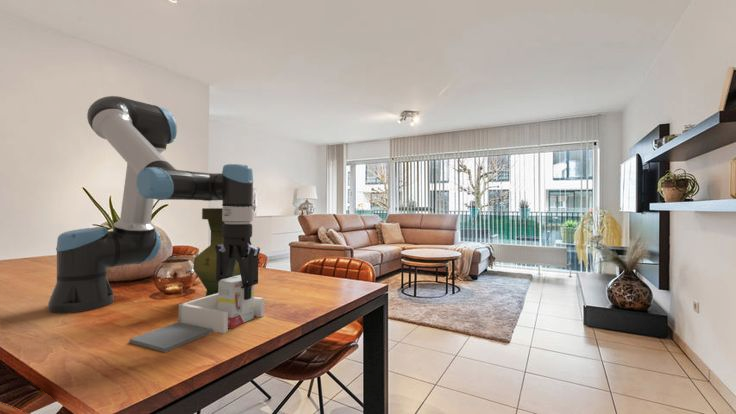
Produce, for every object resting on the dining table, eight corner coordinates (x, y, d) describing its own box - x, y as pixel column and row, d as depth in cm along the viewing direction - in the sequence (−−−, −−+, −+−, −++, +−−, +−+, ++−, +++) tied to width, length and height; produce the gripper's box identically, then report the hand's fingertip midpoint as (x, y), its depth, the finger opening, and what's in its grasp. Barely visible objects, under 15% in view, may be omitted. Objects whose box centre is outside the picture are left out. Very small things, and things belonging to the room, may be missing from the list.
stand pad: (129, 342, 75) (129, 338, 75) (178, 325, 86) (178, 322, 86) (165, 352, 71) (165, 348, 71) (212, 332, 82) (212, 329, 82)
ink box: (231, 329, 84) (231, 282, 84) (216, 326, 86) (217, 280, 86) (254, 318, 92) (255, 275, 92) (240, 316, 94) (241, 274, 94)
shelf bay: (178, 323, 88) (178, 304, 88) (222, 308, 101) (222, 291, 101) (223, 333, 81) (223, 313, 81) (264, 315, 94) (264, 298, 94)
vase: (229, 290, 122) (230, 208, 121) (256, 297, 112) (257, 208, 112) (183, 300, 108) (183, 208, 108) (209, 310, 99) (210, 209, 99)
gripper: (201, 222, 89) (200, 309, 89) (253, 224, 82) (252, 319, 82) (223, 221, 96) (222, 301, 96) (273, 223, 89) (272, 310, 89)
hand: (236, 309), depth 89 cm, fingers closed on ink box, 5 cm apart
